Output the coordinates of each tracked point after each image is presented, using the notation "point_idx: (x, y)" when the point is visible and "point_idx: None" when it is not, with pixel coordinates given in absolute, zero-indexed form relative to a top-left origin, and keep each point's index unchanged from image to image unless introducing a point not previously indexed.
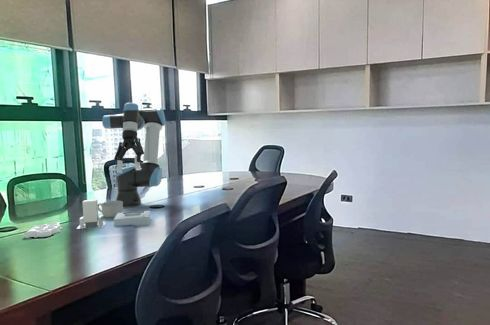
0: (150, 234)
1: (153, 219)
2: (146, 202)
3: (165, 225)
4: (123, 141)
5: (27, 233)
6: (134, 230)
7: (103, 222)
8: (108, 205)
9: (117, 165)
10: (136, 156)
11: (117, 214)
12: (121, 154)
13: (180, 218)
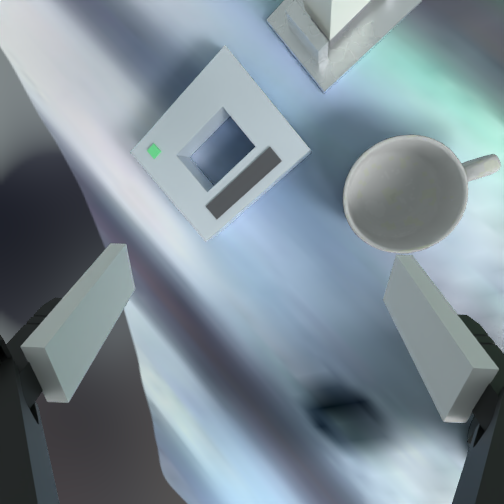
0: (50, 53)
1: None
2: None
3: (94, 171)
4: None
5: None
6: (133, 66)
7: (328, 76)
8: (449, 212)
9: (444, 304)
10: (33, 342)
11: (285, 125)
12: (472, 488)
13: None
